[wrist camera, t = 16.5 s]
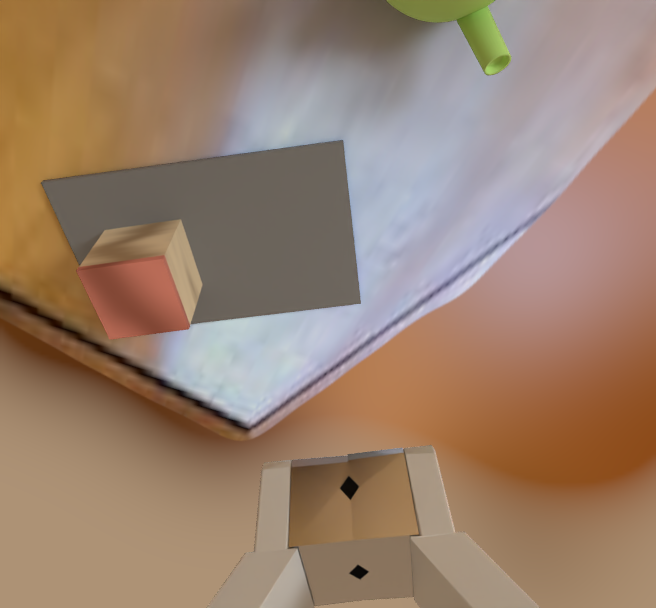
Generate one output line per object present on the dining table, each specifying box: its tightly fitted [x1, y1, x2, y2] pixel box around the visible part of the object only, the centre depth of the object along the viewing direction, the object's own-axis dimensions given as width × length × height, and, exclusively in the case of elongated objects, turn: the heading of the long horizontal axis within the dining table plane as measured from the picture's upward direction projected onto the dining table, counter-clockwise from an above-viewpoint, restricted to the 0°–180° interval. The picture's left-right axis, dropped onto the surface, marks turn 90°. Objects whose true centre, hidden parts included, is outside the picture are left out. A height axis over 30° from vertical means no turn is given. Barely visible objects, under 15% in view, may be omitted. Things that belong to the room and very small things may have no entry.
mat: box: [41, 140, 361, 324], centre depth 41 cm, size 22×14×1 cm, turn 97°
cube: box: [76, 219, 203, 339], centre depth 39 cm, size 6×6×6 cm
